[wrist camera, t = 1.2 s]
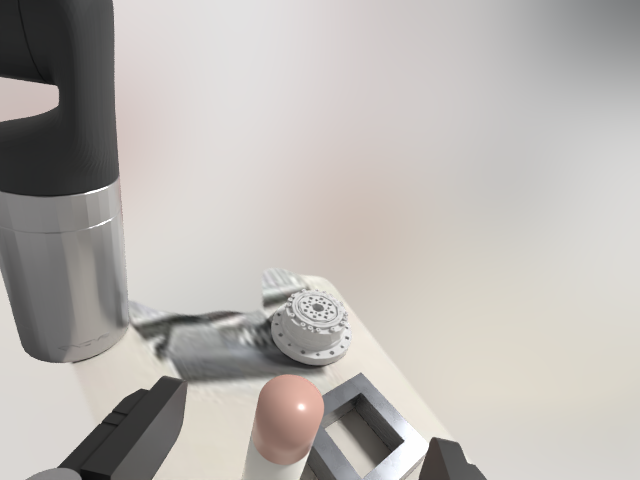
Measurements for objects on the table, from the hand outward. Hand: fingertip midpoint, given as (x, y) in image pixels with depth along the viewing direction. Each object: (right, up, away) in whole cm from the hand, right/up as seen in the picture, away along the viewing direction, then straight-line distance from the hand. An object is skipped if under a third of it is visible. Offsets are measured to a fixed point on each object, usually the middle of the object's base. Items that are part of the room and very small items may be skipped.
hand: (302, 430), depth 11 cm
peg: (-4, -14, +15) cm, 21 cm away
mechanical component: (-1, -6, +32) cm, 32 cm away
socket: (+4, -13, +21) cm, 25 cm away
